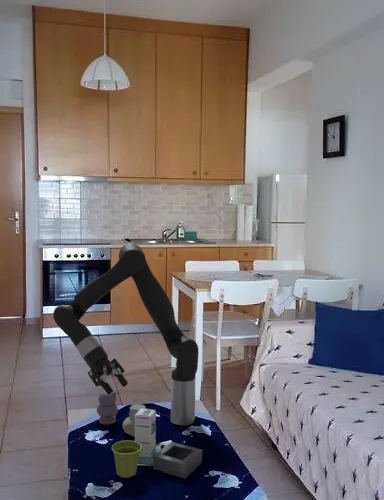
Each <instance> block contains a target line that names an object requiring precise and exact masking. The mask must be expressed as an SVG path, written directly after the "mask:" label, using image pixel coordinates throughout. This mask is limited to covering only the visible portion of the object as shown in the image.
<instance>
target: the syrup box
mask: <svg viewBox="0 0 384 500" xmlns="http://www.w3.org/2000/svg"><path fill="white" fill-rule="evenodd" d="M156 413H157V412H156V410H155V409H152V408H146V409H140V410H139V411H138V412H137V413H136V414H135V437H134V441H136V442H138V443H140V444H141V445H142V449H141V450H140V454H139V457H146V458H151V457H152V455H153V454H154V452H155V451H156V448H157V423H156V422H157V418H156V417H157V416H156V415H157V414H156Z"/></svg>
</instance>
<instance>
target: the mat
mask: <svg viewBox="0 0 384 500" xmlns="http://www.w3.org/2000/svg"><path fill="white" fill-rule="evenodd" d="M162 449H163V448H159V447H156V451H155V452H154V454H153V455H152V457H151V458H146V457H139V458H138V463H139V464H142V465H146V466H148V467H153V456H154V455H155V454H157V453H158V452H159V451H160V450H162Z"/></svg>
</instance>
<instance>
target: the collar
mask: <svg viewBox="0 0 384 500" xmlns="http://www.w3.org/2000/svg"><path fill="white" fill-rule="evenodd" d="M161 449H162V450H160V451H159V452H158V453H157V454H155V455H154V456H153V465H152V468H153V469H152V470H154V469H155V470H154V471H157V470H159V471H158V472H160V471H162V472H161V473H164V474H168V475H170V476H175V477H177V478H182V479H185V480H186V478H187V477H189V476H190V475H191V474H192V473H193V472H195V470H196V469H197V468H198V467H200V466H201V465H202V464H203V449H200V448H197V447H193V446H190V445H185V444H182V443H179V442H178V443H177V442H173V441H171V442H169V443H168V444H166V445H165V446H164V447H163V448H161Z"/></svg>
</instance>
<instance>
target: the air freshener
mask: <svg viewBox="0 0 384 500" xmlns="http://www.w3.org/2000/svg"><path fill="white" fill-rule="evenodd" d="M140 409H147V407H146V405H144V404H141V403H137V404H136V403H135V404H132V405H131V406H130V407H129V416H128V417H127V418H125V419H124V420H123V422H122V428H123V431H124V433H126V434H128V435H129V436H132V437H134V438H135V414H136V413H137V412H138V411H139V410H140Z"/></svg>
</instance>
